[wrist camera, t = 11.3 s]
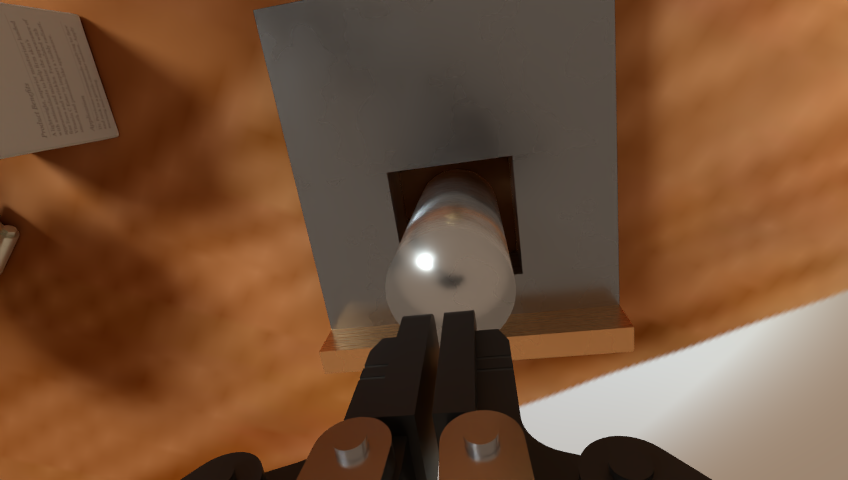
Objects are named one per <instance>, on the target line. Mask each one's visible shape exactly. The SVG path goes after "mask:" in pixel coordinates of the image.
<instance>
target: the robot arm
mask: <svg viewBox="0 0 848 480" xmlns="http://www.w3.org/2000/svg"><path fill="white" fill-rule="evenodd" d="M364 366H365V368H363V371H362V373H361V376H360V380H359V381H358V384H357V387H356V389H355V392H354V395H353V397H352V400H351V403H350V405H349V408H348V410H347V413H346V416H345V418H344V421H342V422H339V423H337V424H335V425H334V426H332V427H330V428H329V429H328V430H326V431H325V432H324V433H323V434H322V435H321V436H320V437H319V438H318V439H317V441H316V442H315V444H314V446H313V448H312V450H311V451H310V453H309V455H308V457H307V459H306V460H303V461H300V462H298V463H295V464H291V465H288V466H285V467H282V468H278V469H275V470H272V471H269V472H265V473H264V470H263V467H262V464H261V461H260V460H259V459H258V457H256V456H255V455H253V454H250V453H246V452H236V453H230V454H226V455H222V456H220V457H217V458H215V459H213V460H211V461H209V462H207V463H205V464H204V465H202V466H200V467H199V468H197V469H196V470H194V471H193V472H191V473H190V474H188V475H187V476H185V477H184V478H182V479H181V480H437V477H438V465H439V480H712V479H710V478H708V477H707V476H705V475H703V474H702V473H700V472H699V471H697V470H695V469H694V468H692V467H690V466H689V465H687V464H685V463H684V462H682V461H681V460H679V459H677V458H676V457H674V456H672V455H671V454H669V453H668V452H666V451H664V450H663V449H661V448H659V447H658V446H656V445H654V444H652V443H649V442H647V441H644V440H641V439H637V438H633V437H627V436H611V437H606V438H602V439H599V440H596V441H594V442H593V443H591V444H590V445H588V446H587V447H586V448H585V449H584V451H583V452H582V454H581V455H576V454H572V453H567V452H563V451H559V450H555V449H552V448H550V447H548V446H545V445H543V444H542V443H540V442H538V441H537V440H536V439H534V438H533V437H532V436H531V435H530V434H529V433H528V432H527V430H526V429H525V428H524V426H523V424H522V421H521V417H520V410H519V403H518V397H517V390H516V383H515V376H514V370H513V363H512V357H511V349H510V343H509V340H508V338H507V337H506V336H505V335H504V334H503V333H502V332H501V331H500V330H499V329H489V330H477V325H476V318H475V312H474V310H468V311H457V312H445V313H444V316H443V324H442V333H441V341H440V347H439V341H438V335H437V329H436V323H435V318H434V315H433V314H423V315H412V316H403V317H402V320H401V323H400V327H399V330H398V333H397V337H392V338H383V339H382V340H381V341H380V342H379V343H378V344H377V345H376V346H375V347H374V348H372V349H371V350H370V352H369V355H368V357H367V360H366V363H365V365H364Z"/></svg>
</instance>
